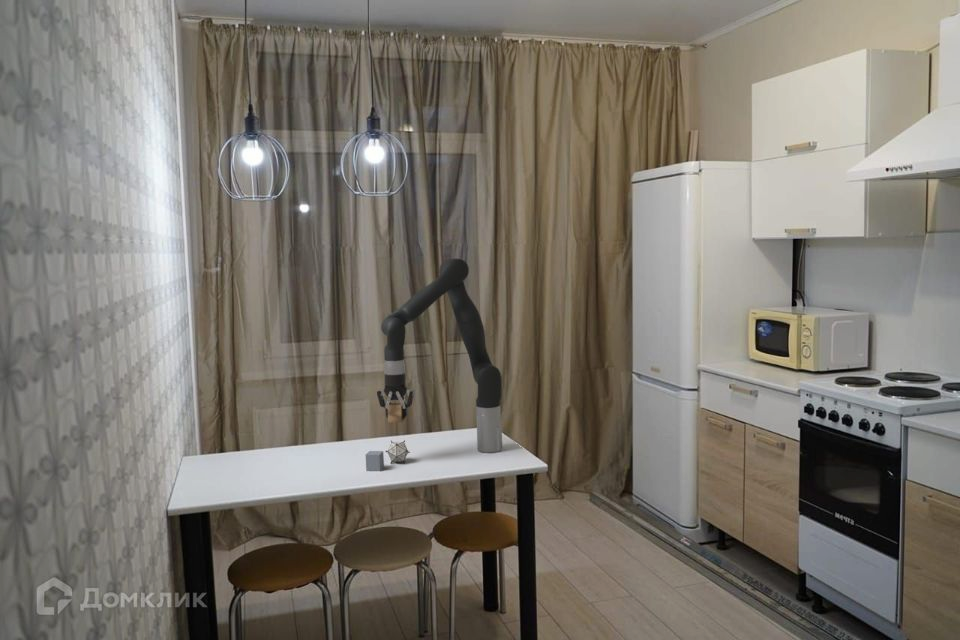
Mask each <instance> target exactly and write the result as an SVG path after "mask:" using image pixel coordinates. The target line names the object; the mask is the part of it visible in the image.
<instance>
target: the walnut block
mask: <svg viewBox="0 0 960 640" xmlns="http://www.w3.org/2000/svg"><path fill="white" fill-rule="evenodd" d="M387 407H388V418H387V423H403V422H404V421H405V420H406V418H405V419H402V409H403V408H402V405H401V403H400V402H399V403H398V402H397V403H396V402H394V403H393V402H391V404H390V405H388V406H387Z"/></svg>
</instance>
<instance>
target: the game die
mask: <svg viewBox="0 0 960 640" xmlns="http://www.w3.org/2000/svg"><path fill="white" fill-rule="evenodd" d="M405 442H406V439H404V440H403V441H392V440H390V445H389V448H388V449H387V450H385V453H387V454H388V457H389V458H390V464H392V463H393V462H394V463H395V462H396V463H397V462H398V463H400V462H402V463H404V464H405V463H406V458H407V456H408V455H409V454H410V453H411V452H410V451H409V450H408V449H407V446H406V443H405Z"/></svg>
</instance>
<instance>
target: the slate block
mask: <svg viewBox="0 0 960 640" xmlns="http://www.w3.org/2000/svg"><path fill="white" fill-rule="evenodd" d="M384 456H385V455H384V450H369V451H368V452H367V453H366V454H365V469H366V470H365V472H381V471H382V470H383V469H384V468H385V459H384V458H385V457H384ZM383 467H384V468H383ZM382 468H383V469H382ZM381 469H382V470H381ZM380 470H381V471H380Z"/></svg>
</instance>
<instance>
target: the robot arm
mask: <svg viewBox="0 0 960 640" xmlns="http://www.w3.org/2000/svg"><path fill="white" fill-rule="evenodd" d="M438 271H439V275H438V276H437V277H435V279H434V280H433V281H432V282H430V283H429V284H428V285H426V286H424V287H423V288H422V289H420V290H419V291H418V292H415V294H413V295H412V296H411V297H410V298H409V299H408V300H407V301H405V303H403V304H402V306H401V307H399V308H397V309H396V310H395V311H393V312H392V313H391V314H389V315H387V316H386V317H385V318H384V319H383V320H382V322H381V325H380V329H381V331H382V333H383V334H384V335H385V336H387V337H386V344H385V345H384V349H383V350H384V351H383V352H384V356H383V357H384V362H383V363H384V366H383V372H384V389H380V390H377V391H376V396H377V399H378V403H379V406H380V407H381V408H384V409H385V417H386V418H387V419H388V407H387V406H388V405H390V404H391V403H393V402H392V401H398V402H399V403H401V405H402V408H403V409H402V419H405V420H406V418H407V416H408V408H410V407H411V406H412V405H413V400H414V395H415V390H414V389H411V390H410V389H408V388H407V386H406V385H407V384H406V383H407V382H406V365H405V350H404V345H405V340H406V325H407V324H409V323H411V322H415V320H417V319H418V318H419V317H420V316H421V315H422V314H423V313H425V312H426V311H427V310H428V309H429V308H430V307H431V306H432V305H433V304H434V303H436V301H437V300H438V299H440V298H441V297H442V296H443V295H445V294H446V293H447V295H448V297H449V301H450V304H451V305H450V306H451V307H452V308H451V309H452V310H453V315H454V317H455V321H456V324H457V327H458V328H457V329H458V331H459V334H460V336H461V339H462V342H463V344H464V346H465V349H466V352H467V353H468V357H469V361H470V366H471V371H472V372H471V373H472V376H473V379H474V382H475V383H476V384H477V398H476V399H475V406H476V407H475V409H476V410H475V411H476V439H477V441H476V442H477V443H476V445H477V446H476V447H477V451H478V452H480V453H497V452H498V453H499V452H501V451H502V449H503V425H502V421H501V417H502V416H501V400H502V374H501V372H500V369H499V368H498V367H496V366H495V365H493V363H492V361H491V359H490V357H489V353H488V350H487V346H486V333H485V327H484V324H483V321H482V317H481V314H480V312H479V310H478V308H477V307H476V304H475V303H474V302H473V300H472V299H471V298H470V295H469V294H468V291H467V289H466V286H465V282H464V281H465V280H466V279H467V277H468V275H469V272H470V269H469V265H468V263H467V262H466V261H465V260H463V259H461V258H450V259H449V258H448V259H445V260H443V261H442V262H441V264H440V265H439V270H438ZM406 394H407V396H408V399H407V402H406V397H405V395H406ZM385 395H386V396H387V399H386V402H385V399H384V396H385Z"/></svg>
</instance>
